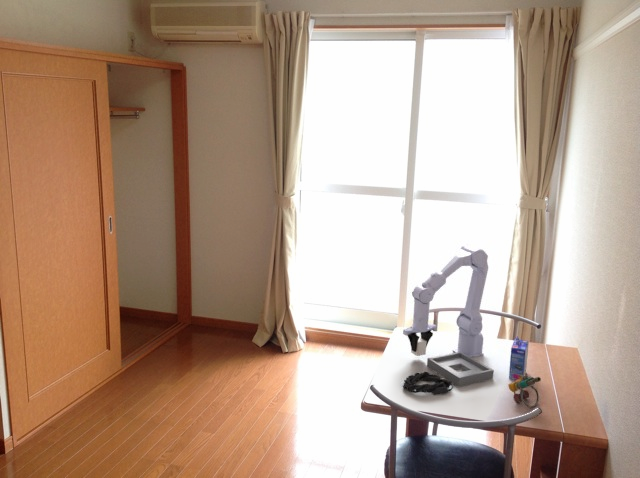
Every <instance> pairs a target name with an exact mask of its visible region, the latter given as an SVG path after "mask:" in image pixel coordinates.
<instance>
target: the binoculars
mask: <svg viewBox="0 0 640 478" xmlns="http://www.w3.org/2000/svg"><path fill="white" fill-rule="evenodd" d="M541 380H542V378H541V377H540V376H537V377H534V376H532V377H528V376H527V375H525V376H523V380H522V379H520V380H515V382H511V383H510V382H509V383H508V387H507V388H508V389H509V390H510V392H512V393H513V400H514V402H515V403H516V404H519V403H523V404H524V405H525V407H529V408H532V407H535V406H537V405H538V403H539V400H540V399H539V392H538V389H537V388H536V387H534V385H535V384H536V383H539V382H541ZM528 387H530V388H531V389H532V390H534V391H535V393H536V394H535V395H536V401H535V403H534V405H529V404H528V403H526V401H525V400H528V399H530V392H529V391H528V390H527V389H526V388H528ZM518 390H519V393H517V391H518Z"/></svg>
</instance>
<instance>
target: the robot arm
mask: <svg viewBox="0 0 640 478" xmlns="http://www.w3.org/2000/svg"><path fill="white" fill-rule="evenodd" d="M488 258H489V255H488V254H487V253H486V251H485V250H484V249H480V248H478V247H474V246H473V245H470V244H464V245H462V246H461V247H460V249H458V250H457V251H456V253H455V255H454V256H453V258H451V260H449V262H447V264H446V265H445V266H444V267H443V268H442V269H441V270H440V271H439V272H438V271H435V272H432V273H431V274H430V277H428V278H427V279H426V280H425V281H424V282H421V284H420V285H417V286H415V287H414V289H413V291H412V292H411V294H412V295H411V296H412V297H413V302H414V304H413V307H414V308H413V319H412V324H411V325H412V326H409V327H407V328H404V329H403V330H402V332H403V333H402V334H403V335H404V336H406V337H407V338H408V340H409V343H410V348H411V349H412V351H414V352H416V350H417V343H418V339H419V338H422V339H424V340H426V341H427V343H426V348H427V346H428V344H429V342H430V340H431V338H432V337H433V335H434V333H433V332H432V331H434V332H435V331H437V325H436V324H434V323H432V324H429V316H430V302H431V301H433V299H434V296H435V295H436V293H437V292H438V291H439V290H441V288H442V287H444V285H446V283H447V279H448V278H449V277H450V276H451V275H452V274H454V273H455V272H456V271H458V270H459V269H460V268H462V267H470V268H471V270H472V274H471V279H470V283H469V286H468V287H469V288H468V292H467V297H466V302H465V307H464V308H462V309H460V312H459V315H458V316H457V318H456V320H455V321H456V325H457V327H458V330H459V332H458V341H457V342H458V343H457V348H456V349H452V353H457V352H462V353H464V354H465V355H467V356H469V357H471V358H474V357H479V356H483V355H484V353H483V346H484V336H483V334H482V331H483V322H482V321H483V317H482V315H481V313H480V309H481V303H482V299H483V295H484V291H485V285H486V280H487V275H488V272H489V265H488ZM418 333H420V336H419V335H418ZM411 349H410V350H411Z"/></svg>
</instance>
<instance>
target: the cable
mask: <svg viewBox="0 0 640 478" xmlns="http://www.w3.org/2000/svg"><path fill="white" fill-rule="evenodd" d="M420 380H422V381H427V382H435V383H433V384H429V383H422V384H416V383H417V382H418V381H420ZM403 381H404V382H403V385H402V388H403V389H407V390H408V392H410V393H413V394H415V393H416V394H417V393H426V394H427V393H428V394H432V395H434V396H435V395H445V394H448V393H450V392H451V391H452V390H453V388H454V386H453V385H454V384H453V383H452V382H451V381H449V380H447V379H445V378H444V377H442V376H440V375H437V374H432V373H430V372H428V371H423V372H415V373H414V375H413V374H412V375H411V374H410V375H408V376H407V377H406V378H405V379H404V380H403ZM450 387H451V388H450Z"/></svg>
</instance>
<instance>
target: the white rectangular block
mask: <svg viewBox="0 0 640 478" xmlns="http://www.w3.org/2000/svg"><path fill="white" fill-rule="evenodd" d="M426 343H427V341H426V340H424V339H422V338H421V337H419V339H418V343H417V350H416V352H414V351H412V349H410V353H412V354H413V355H414V356H416V357H420V356H425V355H426V354H427V347H426Z"/></svg>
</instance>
